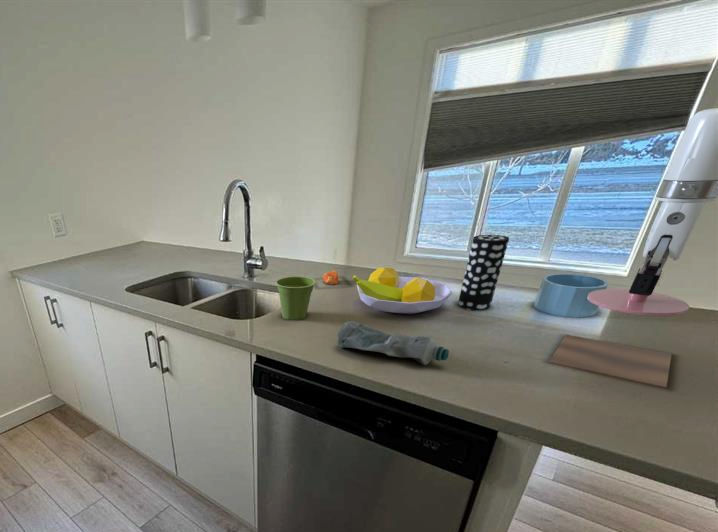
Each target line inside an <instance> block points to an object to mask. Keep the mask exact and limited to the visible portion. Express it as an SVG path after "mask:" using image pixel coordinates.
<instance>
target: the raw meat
mask: <svg viewBox="0 0 718 532" xmlns="http://www.w3.org/2000/svg"><path fill="white" fill-rule="evenodd" d="M322 281H323V282H324V283H325V284H328V285H331V286H335V285H338V284H339V275H338V271H337V270H332V271H329V272H326V273H324V274H323V276H322Z"/></svg>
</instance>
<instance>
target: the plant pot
mask: <svg viewBox="0 0 718 532" xmlns="http://www.w3.org/2000/svg"><path fill="white" fill-rule="evenodd" d="M316 284H317V281H316V279H314V278H312V277H308V276H302V275H301V276H299V275H295V276H291V275H290V276H284V277H282V278H278V279H277V280H275V285H276V286H277V292H278V295H279V302H280V309H281V317H282V318H283V320H284V319H285V320H286V321H289V320H291V321H298V320H302V319H305V318H306V317H307V313H308V309H309V304H310V300H311V296H312V292H313V289H314V286H315V285H316Z"/></svg>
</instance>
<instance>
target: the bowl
mask: <svg viewBox="0 0 718 532" xmlns="http://www.w3.org/2000/svg"><path fill="white" fill-rule="evenodd" d="M609 284H610V283H609V281H607V280H606V279H604V278H601V277H597V276H592V275H588V274H580V273H551V274H548V275H544V276H543V277H542V279H541V282H540V285H539V288H538V291H537V293H536V298H535V300H534V304H533V307H534V309H536V310H538V311H540V312H541V313H546V314H548V315H552V316H558V317H563V318H589V317H593V316H595V315H596V314H597V312H598V310H599V308H600V306H597V305H595V304H593V303H591V302H590V301H589V300H588V299H587V296H588V294H589V293H590V292H592V291H596V290H602V289H608V286H609Z"/></svg>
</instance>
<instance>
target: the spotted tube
mask: <svg viewBox="0 0 718 532" xmlns="http://www.w3.org/2000/svg"><path fill="white" fill-rule="evenodd" d="M509 241H510V237H509V236H506V235H499V234H478V235H475V236H473V238H472V241H471V247H470V251H469V254H468V259H467V262H466V268H465V272H464V275H463V280H462V284H461V288H460V293H459V296H458V302H457V307H459V308H461V309H464V310H468V311H475V312H476V311H478V312H479V311H480V312H481V311H487V310H489V309H490V308H491V306H492V303H493V299H494V295H495V291H496V288H497V285H498V281H499V277H500V275H501V274H500V273H501V270H502V267H503V262H504V259H505V256H506V252H507V249H508V245H509Z"/></svg>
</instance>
